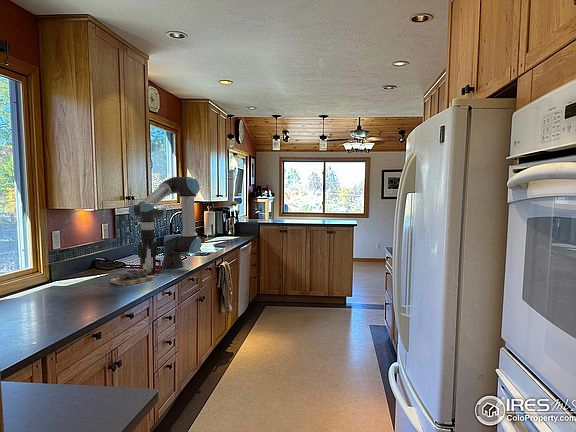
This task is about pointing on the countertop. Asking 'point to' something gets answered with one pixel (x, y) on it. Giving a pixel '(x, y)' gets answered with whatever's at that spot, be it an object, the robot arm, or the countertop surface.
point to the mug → (153, 270)
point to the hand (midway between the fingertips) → (148, 268)
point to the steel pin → (148, 260)
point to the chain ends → (131, 277)
